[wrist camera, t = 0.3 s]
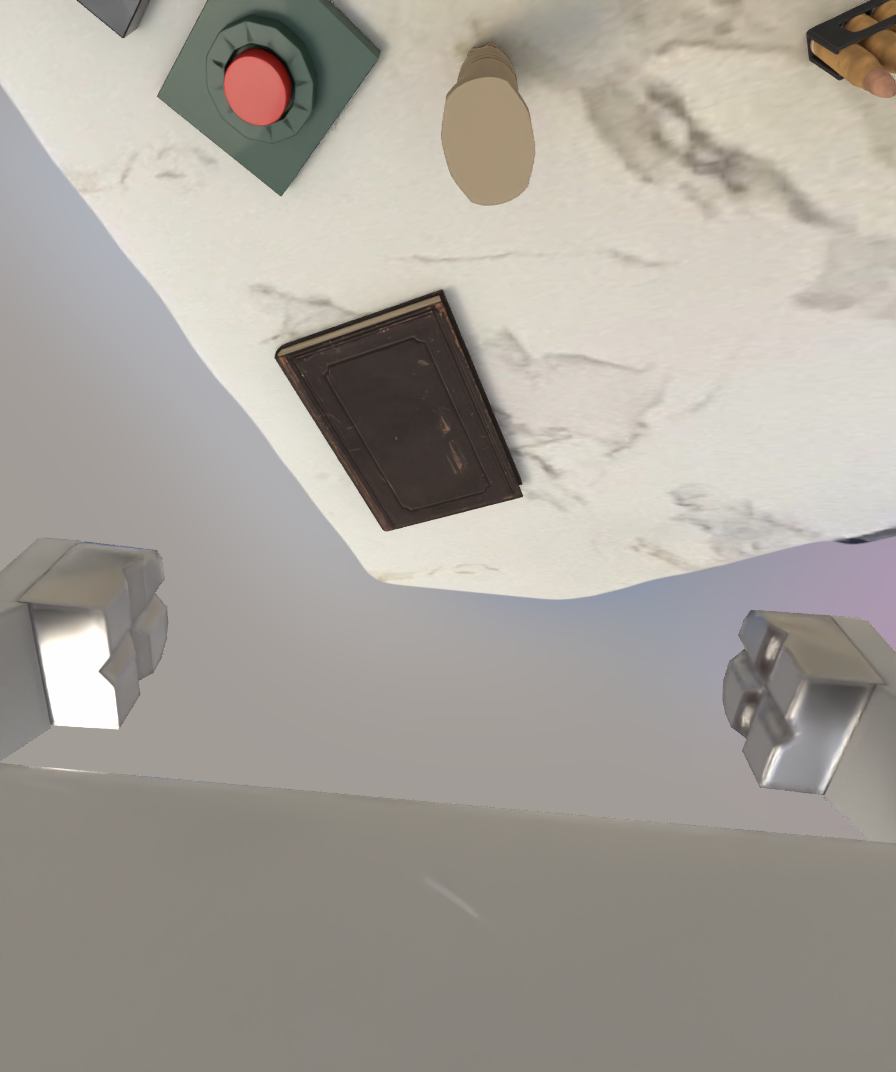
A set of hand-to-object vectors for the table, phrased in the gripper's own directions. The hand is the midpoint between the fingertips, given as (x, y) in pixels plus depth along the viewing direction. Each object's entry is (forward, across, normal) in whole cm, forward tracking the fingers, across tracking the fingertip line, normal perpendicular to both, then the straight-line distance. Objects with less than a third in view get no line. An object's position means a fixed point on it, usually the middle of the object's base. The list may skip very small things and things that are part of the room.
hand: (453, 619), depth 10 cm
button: (+48, +14, -9) cm, 51 cm away
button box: (+51, +14, -10) cm, 54 cm away
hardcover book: (+60, +3, +17) cm, 63 cm away
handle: (+51, 0, -11) cm, 52 cm away
